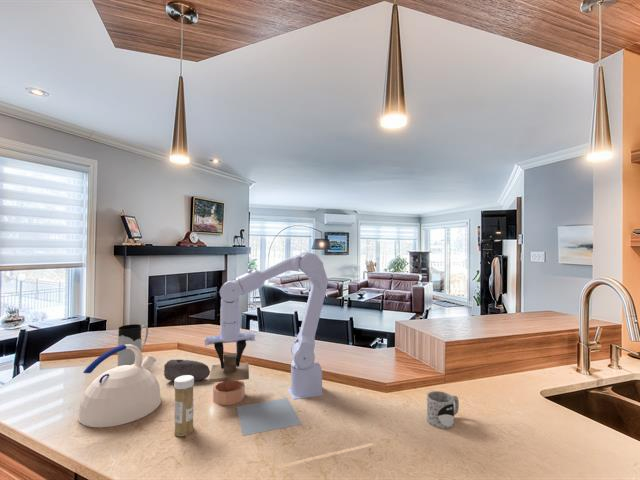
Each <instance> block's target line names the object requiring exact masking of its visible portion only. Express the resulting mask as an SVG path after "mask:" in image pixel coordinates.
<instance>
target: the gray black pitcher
mask: <svg viewBox="0 0 640 480" xmlns="http://www.w3.org/2000/svg"><path fill="white" fill-rule="evenodd" d="M144 327H145V328H146V329H145V330H146V331H145V338H144V341H143V342H142V329H143V328H144ZM148 335H149V327H148V325H147V324H143V325H141V324H125V325H121V326H119V327H118V337H117V347H118V346H121V345H128V344H131V345H134V346H136V347H138V348H139V350H140V351H141V352H142V350H143V348H144V347H145V345H146V343H147V340H148V339H147V338H148V337H149V336H148ZM134 362H135V354H134V352H133V351H132V350H131V349H124V350H122V351H119V352H117V365H116V367H118V366H123V365H132V364H134Z"/></svg>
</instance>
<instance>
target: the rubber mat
mask: <svg viewBox="0 0 640 480" xmlns="http://www.w3.org/2000/svg"><path fill="white" fill-rule="evenodd" d="M236 411H237V416H238V420H239V425H240V429H241V433H242V436H249V435H250V436H251V435H254V434H258V433H259V434H260V433H265V432H268V431H273V430H278V429H286V428H290V427H294V426H299V425H303V422H302V421H301V419H300V418H299V416H298V414H297V412H296V411H295V409H294V407H293V406H292V404H291V402H290V400H289V399H288V397H287V398H282V399H281V398H280V399H275V400H269V401H268V400H267V401H263V402H262V401H261V402H257V403H251V404H244V405H238V406H236Z"/></svg>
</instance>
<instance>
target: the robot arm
mask: <svg viewBox="0 0 640 480" xmlns="http://www.w3.org/2000/svg"><path fill="white" fill-rule="evenodd" d="M289 271H291V272H302V273H304V274H305V275H306V277H307V279H308V281H310V283H311V286H310V290H309V294H308V297H307V298H308V299H307V302H306V306H305V310H304V314H303V318H302V322H301V325H300V330H299V332H298V333H297V336H296V339H295V341H294V342H293V344H292V345H291V348H290V351H291V355H292V357H293V359H292V361H291V363H290V387H287V391H288V394H290V396H291V398H292V400H300V399H305V398H311V397H313V398H314V397H317V396H318V397H319V396H323V395H324V393H323V371H322V366H321V364H320V363H319V362H315V357H316V355H315V344H316V343H315V340H316V332H317V330H318V324H319V322H320V317H321V313H322V308H323V306H324V302H325V297H326V294H327V293H326V292H327V289H328V284H329V280H328V276H327V273H326V270H325V267H324V263H323V261H322V260H321V259H320V257H319V256H318V255H317V254H316V253H312V252H306V251H305V252H302V253H300V254H296V255H292V256H291V257H287V258H285V259H283V260H281V261H280V262H277V263H275V264H273V265H271V266H269V267H267V268H265V269H263V270H258V269H253V270H252V269H248V270H247V273H244V274H241V275H240V276H238V277H236V276H234V277H232V280H228V281H226V282H224V283H223V285H221V287H220V289H219V296H220V309H219V311H220V314H219V315H220V318H219V319H220V320H219V323H220V325H219V327H220V334H216V335H213V336H206V337H204V346H205V347H206V346H209V345H213V346H214V350H215V351H216V354H217V357H218V360H219V361H220V364H221V369H224V349H225V348H224V344H228V343H236V345H235V346H236V366H237V367H239V364H240V363H241V359H242V356H243V353H244V350H245V349H246V347H247V342H248V341H249V342H254V341H256V334H255V332H248V333H245V332H244V333H242V332H241V305H240V296H246V295H247V294H249V293H252V292H253V291H256V290H258V289H260V288H263V286H264V285H265V283H266V282H265V281H267V280H270V279H272V278H275V277H277V276H279V275H281V274H284V273H286V272H289Z"/></svg>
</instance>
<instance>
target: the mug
mask: <svg viewBox="0 0 640 480" xmlns="http://www.w3.org/2000/svg"><path fill="white" fill-rule="evenodd" d="M459 407H460V404H459V397H458V396H457V395H451V394H450V393H447V392H444V391H438V390H435V391H434V390H433V391H430V392H428V393H427V394H426V421H427V423H428V424H429V425H430V426H431V427H433V428H436V429H439V430H450V429H452V428H453V427H455V416H456V415H457V414H458V413H459V409H460V408H459Z"/></svg>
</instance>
